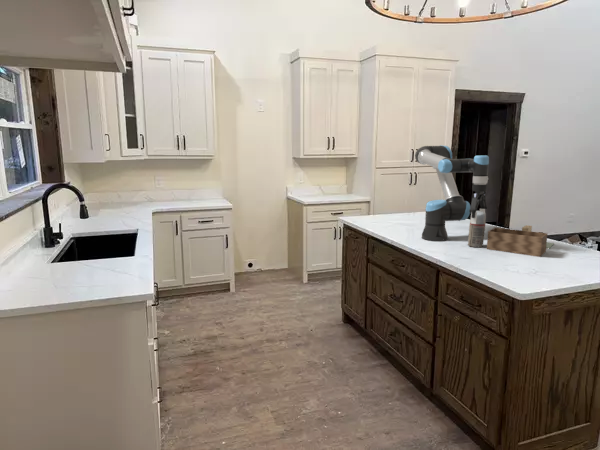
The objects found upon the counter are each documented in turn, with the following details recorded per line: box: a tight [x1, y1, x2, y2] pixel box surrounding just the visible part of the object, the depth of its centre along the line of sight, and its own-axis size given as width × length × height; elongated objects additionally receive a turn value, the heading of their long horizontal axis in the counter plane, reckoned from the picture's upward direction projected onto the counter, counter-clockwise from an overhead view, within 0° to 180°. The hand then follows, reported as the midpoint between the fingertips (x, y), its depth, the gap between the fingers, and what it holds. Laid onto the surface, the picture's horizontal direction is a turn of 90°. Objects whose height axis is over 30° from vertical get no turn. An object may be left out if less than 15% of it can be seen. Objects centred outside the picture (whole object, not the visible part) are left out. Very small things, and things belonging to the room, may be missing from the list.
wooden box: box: [486, 227, 548, 258], centre depth 221 cm, size 26×12×10 cm, turn 49°
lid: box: [521, 224, 555, 249], centre depth 237 cm, size 26×12×10 cm, turn 47°
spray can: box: [467, 210, 487, 248], centre depth 231 cm, size 8×8×20 cm
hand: (477, 221), depth 230 cm, fingers open, 13 cm apart
